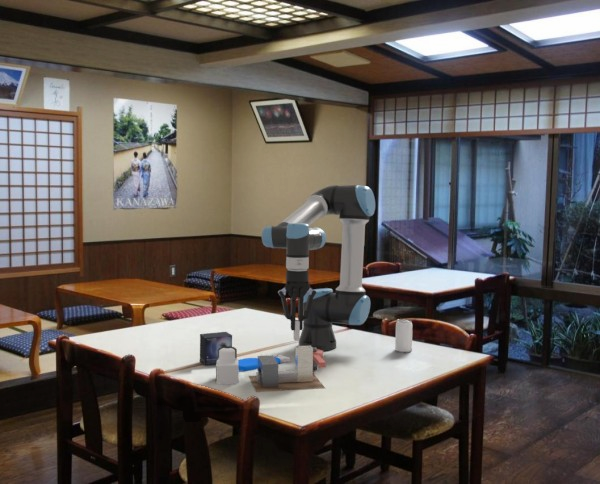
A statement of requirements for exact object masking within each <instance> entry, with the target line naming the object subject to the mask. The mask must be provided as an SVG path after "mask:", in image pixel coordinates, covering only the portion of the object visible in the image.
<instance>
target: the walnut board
mask: <svg viewBox="0 0 600 484" xmlns="http://www.w3.org/2000/svg"><path fill="white" fill-rule="evenodd" d="M248 377H249V379H250V382H251V384H252V386H253V388H254V390H255V392H256V393H263V392H264V393H265V392H281V391H298V390H299V391H300V390H301V391H303V390H316V389H318V390H319V389H326V387H325V385H323V383H322V382H321V381H320V380H319V378H318V377H317V376H316V374H315V373H314V372H313V381H310V382H286V383H278V387H274V388H262V386H261V384H257V382H256V374H255V375H248Z"/></svg>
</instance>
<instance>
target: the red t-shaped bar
mask: <svg viewBox="0 0 600 484" xmlns="http://www.w3.org/2000/svg"><path fill="white" fill-rule="evenodd" d="M312 348H313V360H314V361H315V363H316V364H317V367H319V368H326V367H327V366H326V364H327V362H326V361H325V360H324V359H323V358H324V351H322V350H319V349H317V348H316V347H312Z"/></svg>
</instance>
